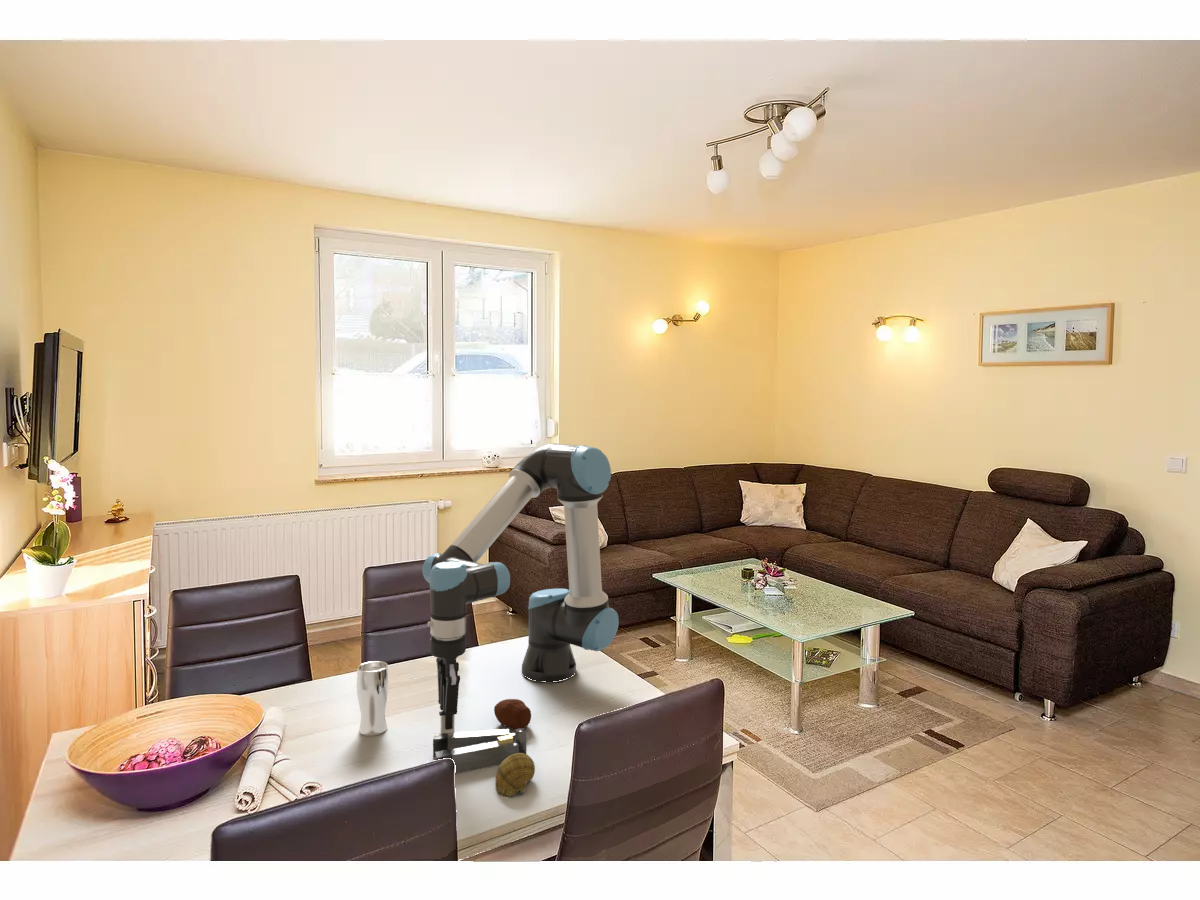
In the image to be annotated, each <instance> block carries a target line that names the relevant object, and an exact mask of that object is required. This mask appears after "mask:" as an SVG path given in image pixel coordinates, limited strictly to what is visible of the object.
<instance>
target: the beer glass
mask: <svg viewBox="0 0 1200 900" xmlns="http://www.w3.org/2000/svg"><path fill="white" fill-rule="evenodd" d="M388 667H389V666H388V663H387V662H385V661H381V660H380V661H379V660H374V661H367V662H363V663H361V664H359V665H358V667H357V671H356V693H357V694H356V695H357V700H358V705H359V711H360V723H359V729H358V733H359V734H360V735H362V736H365V737H374V736H375V737H376V736H379V735H381V734H383V733H384V732H386V731H387V729H388V724H387V719H386V707H387V701H388V696H389V686H390V685H389V683H390V680H389V670H388V669H389V668H388Z"/></svg>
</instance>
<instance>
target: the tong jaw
mask: <svg viewBox="0 0 1200 900" xmlns="http://www.w3.org/2000/svg"><path fill="white" fill-rule="evenodd" d="M506 735H512V737H513V743H515V732H512V733H511V732H510V728H502V729H487V730H475V731H474V730H471V731H470V730H469V731H459V732H458V731H457V732H455V731H454V733H441V732H440V733H433V738H432V757H433V758H435V752H437V751H443V750H448V749H450V750H451V749H456V748H462V747H467V746H472V745H478V744H483V743H488V742H494V741H497V737H501V736H506Z"/></svg>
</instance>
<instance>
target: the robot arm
mask: <svg viewBox="0 0 1200 900" xmlns="http://www.w3.org/2000/svg"><path fill="white" fill-rule="evenodd" d="M611 469H612V468H611V464H610V461H609V459H608V457H607V455H606V454H605V453H604V452H603V451H602V450H601V449H599V448H597V447H594V446H588V445H582V444H562V443H561V444H560V443H547V444H544V445H542V446H540V447H538V448H536V449H534V450H533V451H531V452H530V453H529V454H527V455H526V456H525V457H523V458H522V459H521V460H520V461H519V462H518V463H517V464H516V465H515V466H514V467H513V468H512V470H511V471H510V472H509V473H508V477H509V478H508V480H507V481H506V482H504V484H503V485H502V486H501V488H500V489H498V491H497V492H496V493H495V494H494V495H493V496H492V497H491V499H490V500H489V501H487V503H486V504H485V505H484V506H483V508H482V509H481V510H480V511H479V512H478V513H477V515H475V517H474V518H473V519H472V520H471V521H470V522H469V524H468V525H466V527H465V528H464V529H463V530H462V532H460V533H459V535H458V536H457V537H455V539H454V541H452V542H451V544H450V545H449V546H448V547H447V548H446V549H445V550H444V552H443V553H440V552H439V553H432V554H431V555H428V557H427V558H426V559H425V560H424V563H423V565H422V570H421V571H422V576H423V578H424V580H425V581H426V582H427V583H428V584H429V599H430V600H429V601H430V602H429V604H430V605H429V606H430V609H429V610H430V621H427V627H429V629H430V631H429V633H430V635H431V636H430V638H429V653H430V654H431V656H433V657H435V658H436V660H435V662H436V667H437V671H436V672H437V689H438V690H437V691H438V693H437V694H438V701H437V702H438V704H439V709H440V711H439V712H438V715H439V716H440V733H455V715H457V714H458V703H459V688H460V683H461V682H460V681H461V676H460V675H459V673H458V672H459V669H460V665H459V662H458V661H457V658H458V657H461V656H463V655H465V654H464V653H465V652H466V649H467V642H466V641H467V639H466V638H467V636H466V633H467V605H468V604H471V603H475V602H478V601H479V602H480V601H482V600H486V599H487V600H488V599H491V598H496V596H500V595H502V594H504V593H506V592H507V591H508V590H509V587H510V585H511V573H510V571H509V569H508V567H507V566H506V565H505V564H504V563H502V562H499V561H493V562H492V561H490V562H488V563H479V562H478V561H479V560H480V559H481V558H482V557H483V555H484V554H485V553H486V552H487V551H488V549H490V547H491V546H493V543H495V541H496V540H497V539H498V538H499V536H500V535H501V534H502V533H503V532H504V531H505V529H506V528H507V527H509V525H510V523H512V522H513V520H514V519H515V518H516V516H517V515H518V514H519V513H520V512H521V511H522V510H523V509H524V507H525V506H526V505H527V503H528V502H529V501H530V500H531V499H533V498H534V499H535V498H537V497H539V496H540V494H542V492H543V491H545V490H548V489H551V488H552V489H556V492H557V493H556V496H557V497H556V498H557V501H558V502H560V503H561V504H562V506H563V511H564V526H565V527H564V528H565V542H566V557H567V571H568V573H567V574H568V575H567V576H568V589H567V588H547V589H542V590H537V591H535V592H533V593H531V595H530V596H529V598H528V599H529V600H528V607H527V611H528V612H527V615H528V616H527V618H528V620H527V621H528V622H527V623H528V625H527V627H528V628H527V629H528V630H527V631H528V634H527V635H528V645H527V649H526V651H525V655H524V657H523V660H522V663H521V675H522V674H523V675H524V676H526V677H528V678H530V679H532V680H536V681H546V682H553V681H559V680H563V679H566V678H569V677H571V676H572V675H574V673H575V672H576V673H577V662H576V659H575V656H574V653H573V650H572V646H576V647H579V648H582V649H584V650H587V651H593V652H601V651H603V650H605V649H607V647H609V646H610V645H611V643H612V642H613V640H614V638H615V637H616V634H617V632H618V630H619V629H618V628H619V623H620V621H619V620H620V619H619V614H618V612H617V611H616V610H615V609H614V608H613V607H609V597H608V594H607V593H606V592H604V590H603V588H602V587H603V586H602V585H603V584H602V567H601V565H602V564H601V550H600V533H599V532H600V531H599V513H598V511H599V510H598V503H599V502H600V501H601V499H603V493H604V492H605V491H606V490H607V489H608V487H609V486H610V483H609V482H611V478H612V470H611ZM571 645H572V646H571ZM523 675H522V676H523ZM524 676H523V677H524ZM574 676H575V675H574ZM532 680H531V681H532ZM536 681H535V682H536ZM553 683H554V682H553Z"/></svg>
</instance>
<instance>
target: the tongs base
mask: <svg viewBox="0 0 1200 900" xmlns="http://www.w3.org/2000/svg"><path fill="white" fill-rule="evenodd" d="M514 733H515V743H513V737H512V735H506V736H501V737H497V741H494V742H488V743H483V744H478V745H472V746H467V747H462V748H456V749H451V750H450V749H448V750H443V751H437V752H435V757H434V761H435V760H438V759H443V758H451V759H453V760H454V762H455V765H456V773H455V774H458V773H459V774H460V773H465V772H469V771H474V770H480V769H483V768H484V769H485V768H489V767H493V766H500V764H501V763H502V762H503V761H504V760H505V759H506V758H507V757H509V756H510V755H512V754H516V753H524V754H527V747H528V746H527V743H528V742H527V738H528V737H527V735H528V733H527V729H526V728H524V729H523V728H520V729H517V730H515V732H514Z"/></svg>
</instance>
